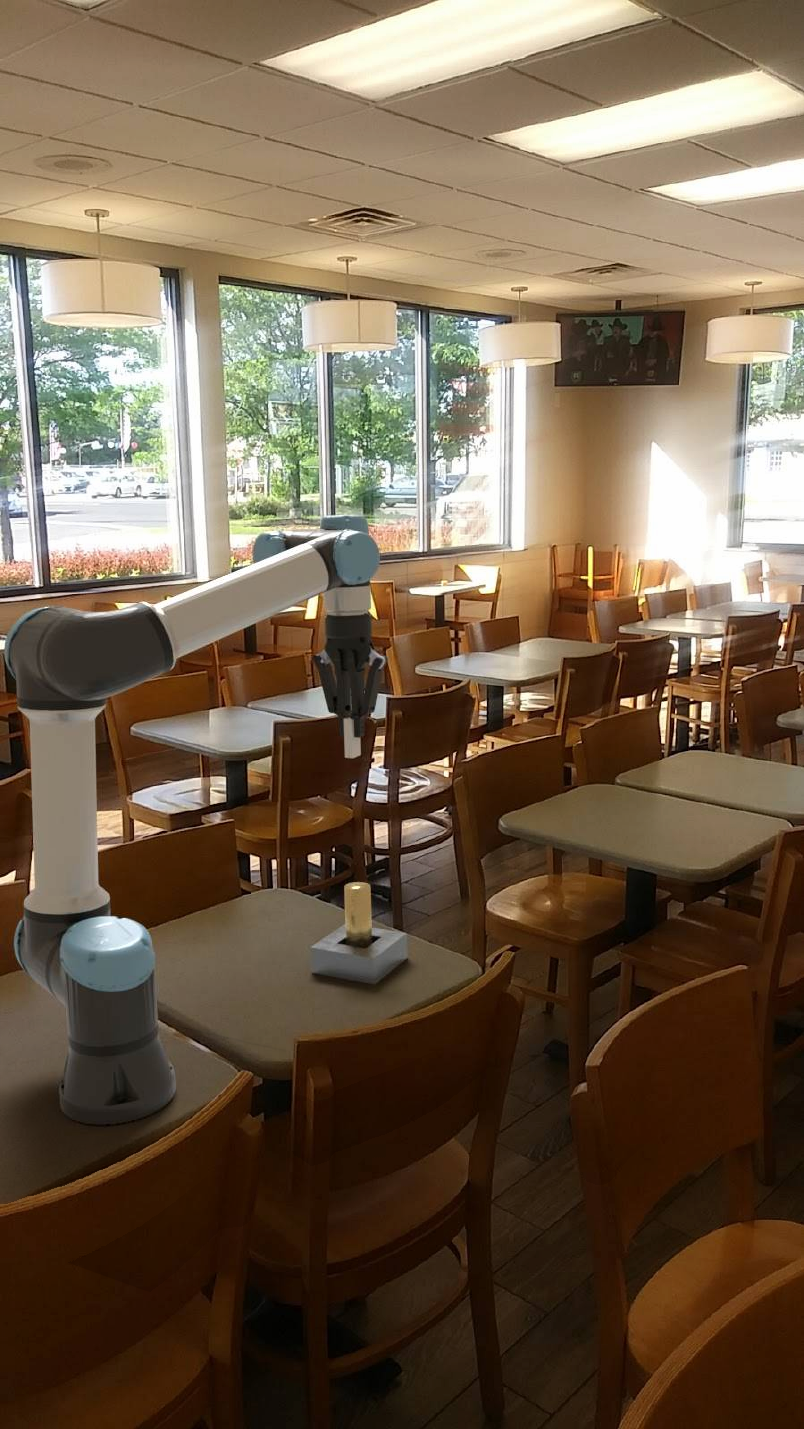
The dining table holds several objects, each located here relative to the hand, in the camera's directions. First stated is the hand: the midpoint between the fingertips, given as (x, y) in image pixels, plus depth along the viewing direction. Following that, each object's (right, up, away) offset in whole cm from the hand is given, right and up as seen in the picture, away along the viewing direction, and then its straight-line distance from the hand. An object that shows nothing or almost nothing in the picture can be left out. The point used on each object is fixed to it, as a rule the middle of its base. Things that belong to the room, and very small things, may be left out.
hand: (352, 756), depth 188 cm
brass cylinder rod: (+1, -36, +7) cm, 36 cm away
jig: (+1, -36, +7) cm, 36 cm away
